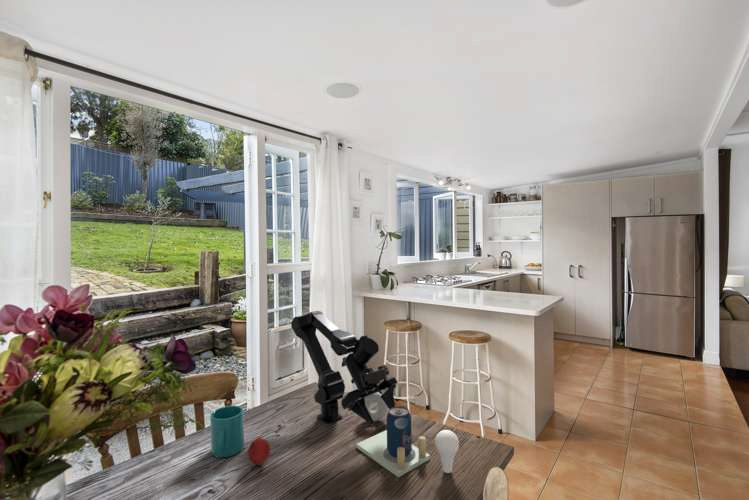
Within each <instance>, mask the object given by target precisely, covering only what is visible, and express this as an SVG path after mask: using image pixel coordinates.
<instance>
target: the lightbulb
mask: <svg viewBox="0 0 749 500" xmlns="http://www.w3.org/2000/svg"><path fill="white" fill-rule="evenodd" d="M434 445H435V447H436V450H437V452H438V453H439V457H440V462H441V467H442V468H441V469H442V471H443V472H444V473H446V474H450V473H452V471H453V467H454V466H453V464H454V459H455V455H456V454H457V452H458V450H459V448H460V441H459V439H458V436H457V435H456V434H455V432H453V431H451V430H449V429H443V430H441V431H439V432H438V433H437V434H436V436H435V439H434Z"/></svg>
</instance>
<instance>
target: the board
mask: <svg viewBox="0 0 749 500" xmlns="http://www.w3.org/2000/svg"><path fill="white" fill-rule="evenodd" d="M417 440H418V446H415V445H414V444H412V450H411V452H410V454H409V455H408V456H407V457H406V458H405V448H403V447H398V448H397V458H394V457H392V456H391V455H390V454H389V452H388V450H387V429H385V430H383V431H381V432H378V433H377V434H374V435H373V436H370V437H368V438H366V439H364V440H361V441H359V442H357V443H356V449H358V451H361V452H362V453H363V454H365V455H366V456H368V457H369V458H370V459H372V460H373V461H374V462H376V463H378V464H379V465H380V466H382V467H383V468H384V469H386V470H387V471H389V472H390V473H391V474H393V475H395V476H396V477H397V478H400V477H402V476H403V475H405V474H406V473H408V472H411V471H412V470H413V469H416V468H417V467H419V466H420V465H423V464H424V463H426V462H428V461H430V460H431V455H430V454H429V453H428V452H427V444H426V443H427V442H426V441H427V440H426V437H425V436H418V439H417Z"/></svg>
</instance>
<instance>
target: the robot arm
mask: <svg viewBox="0 0 749 500" xmlns="http://www.w3.org/2000/svg"><path fill="white" fill-rule="evenodd" d="M290 326H291V327H290V328H291V329H292V331H293V333H294V334H295V336H296V337H297V338H299V339H301V340H302V341H303V343H304V345H305V347H306V350H307V352H308V355H309V357H310V360H311V363H312V364H313V367H314V369H315V371H316V373H317V376H318V379H317V388H318V390H317V391H316V392H315V394H314V395H313V396H314V397H313V398H314V401H315V403H317V404H319V405H320V414H317V415H316V417H317V418H318V419H319V420H320V421H322V422H323V423H325V424H330V423H332V422H335V421H337V420H339V419H343V416H342V415H341V414H340V413H339V401H338V400H340V399H341V406H342V409H343V410H348V411H349V412H350V411H351V412H353V413H354V414H356V415H357V416H359V417H360V418H362V419H363V420H364V421H365V422H366V423H368V424H369V425H370V426H373V425H374V424H375V422H374V421H373V420H372V418H371V416H370V414H369V412H368V410H367V408H366V406H365V397H367V396H370V395H372V394H375V393H377V392H379V393H380V394H382V395H381V396H380V397H381V398H382V399H383V401H384V402H385V404H386V405H387V406H388V410H389V409H390V408H392V407H395V406H396V403H395V398H394V393H395V392H394V391H395V389H396V388H397V385H398V383H399V382H398V380H397V379H396V377H394V376H389V375H390V371H389V368H388V367H387V365H386V364H381V365H379V366H378V367H377V370H373V368H372V367H370V368H369V367H368V363H369V362H370V361H371V360H372V359H373V358H374V357H375V355H377V353H378V352H379V351H380V350H379V349H380V348H379V344H378V342H377V341H375V340H374V339H372V338H370V337H368V336H367V334H364V335H361V336H360V337H359V338H357V337H356V336H355V335H354V334H352V333H350V332H349V331H346V330H341V329H340V328H339V327H338V326H336V325H335V324H334V323H333V322H332V321H331V320H330V319H329V318H327V317H326V316H325V315H324V313H323V311H321V310H315V311H309V312H308V313H306V314H303V315H299V316H298V315H297V316H294V317H293V319H292V321H291V323H290ZM317 330H318V332H319V333H321V334H322V335H323V336H324V337H325V338H326V339H327V340H328V341H329V342H330V348H331V349H332V351H333V352H334V354H336V355H337V356H339V357H341V356H344V355H347V356H344V357H342V362H341V368H344V367H346V369H347V371H348V372H349V375H350V376H351V380H350V382H351V384H354V385H355V386H356V388H357V389H354V390H351V391H349V392H347V393H346V395H344V394H345V391H346V384H345V381H344V379H343V376H342V375H341V372H339V370H337V371H335V370H333V369H332V367H331V366H330V363H329V361H328V359H327V356H326V354H325V352H324V349H323V348H322V345H321V343H320V340H319V338H318V336H317V334H316V333H317ZM387 376H388V377H387Z"/></svg>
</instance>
